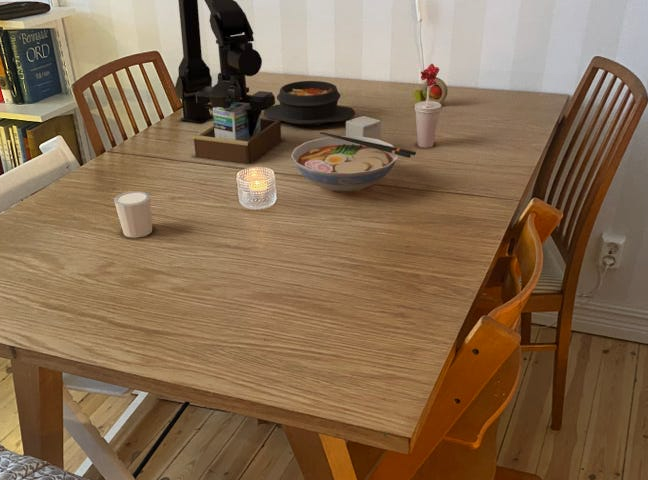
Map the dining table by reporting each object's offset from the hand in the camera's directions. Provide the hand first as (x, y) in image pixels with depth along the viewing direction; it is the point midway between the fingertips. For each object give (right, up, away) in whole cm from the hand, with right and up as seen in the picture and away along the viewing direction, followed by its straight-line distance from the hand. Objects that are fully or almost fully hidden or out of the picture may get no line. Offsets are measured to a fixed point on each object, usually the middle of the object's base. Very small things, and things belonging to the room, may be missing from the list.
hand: (238, 133), depth 180 cm
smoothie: (+46, -3, 0) cm, 46 cm away
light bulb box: (0, -3, +2) cm, 4 cm away
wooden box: (0, -3, +2) cm, 4 cm away
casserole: (+18, +9, +19) cm, 27 cm away
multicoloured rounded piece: (+52, +16, +26) cm, 60 cm away
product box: (+30, -5, -2) cm, 31 cm away
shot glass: (-17, -30, -35) cm, 49 cm away
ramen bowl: (+25, -18, -20) cm, 36 cm away
